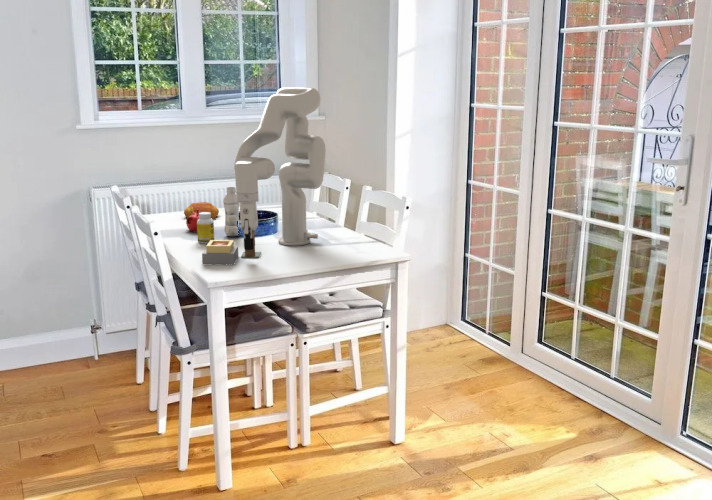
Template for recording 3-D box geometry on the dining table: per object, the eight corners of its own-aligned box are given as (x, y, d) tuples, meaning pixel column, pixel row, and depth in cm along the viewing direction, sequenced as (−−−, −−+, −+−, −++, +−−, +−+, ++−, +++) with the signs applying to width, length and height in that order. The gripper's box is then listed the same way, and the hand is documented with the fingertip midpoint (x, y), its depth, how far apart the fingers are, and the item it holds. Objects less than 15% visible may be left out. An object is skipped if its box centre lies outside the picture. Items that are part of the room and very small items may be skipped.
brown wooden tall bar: (255, 254, 253) (254, 213, 249) (254, 257, 249) (252, 216, 245) (245, 254, 253) (243, 213, 249) (244, 257, 249) (242, 216, 245)
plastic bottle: (233, 238, 286) (232, 189, 281) (221, 236, 289) (219, 188, 284) (244, 235, 291) (242, 187, 286) (231, 233, 295) (230, 185, 290)
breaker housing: (238, 256, 259) (237, 239, 258) (233, 264, 249) (233, 246, 247) (208, 256, 259) (207, 239, 258) (202, 264, 249) (201, 246, 247)
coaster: (261, 253, 264) (261, 251, 264) (259, 258, 258) (259, 256, 258) (243, 253, 264) (243, 251, 264) (241, 257, 258) (241, 256, 258)
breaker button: (228, 252, 256) (227, 242, 255) (225, 255, 251) (225, 246, 250) (215, 252, 256) (214, 242, 255) (213, 255, 251) (212, 245, 250)
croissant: (185, 219, 330) (182, 203, 328) (219, 213, 333) (216, 197, 331) (185, 225, 317) (182, 208, 315) (220, 219, 320) (217, 202, 318)
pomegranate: (212, 228, 305) (211, 207, 302) (208, 233, 295) (207, 211, 293) (188, 227, 304) (188, 206, 302) (184, 232, 295) (183, 210, 292)
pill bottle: (210, 244, 277) (209, 215, 274) (195, 243, 278) (193, 214, 275) (217, 240, 283) (215, 211, 280) (201, 239, 284) (200, 211, 281)
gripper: (255, 202, 237) (257, 254, 242) (260, 191, 253) (263, 241, 258) (232, 202, 237) (235, 254, 242) (239, 192, 253) (242, 241, 258)
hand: (249, 247), depth 250 cm, fingers closed on brown wooden tall bar, 3 cm apart
